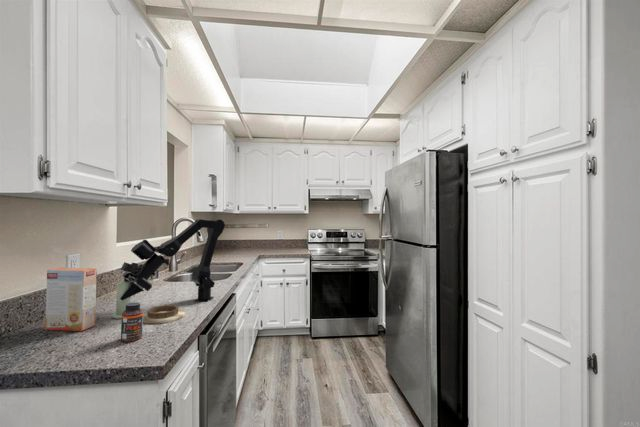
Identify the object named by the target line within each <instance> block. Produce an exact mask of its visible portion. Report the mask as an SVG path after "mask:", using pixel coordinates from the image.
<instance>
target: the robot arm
mask: <svg viewBox="0 0 640 427" xmlns="http://www.w3.org/2000/svg"><path fill="white" fill-rule="evenodd" d="M225 227H226V224H225V221H224V220H222V219H214V218H213V219H210V220H208V219H204V218H199V219H195V220H194V222H192V223H191V224H189V226H188V227H186V228H185V229H183V230H182V231H181V232H179V234H178V235H176V236H175V237H173V238H170V239H168V240H166V241H165V242H163V243H161V244H160V245H159V246H154V245H152V244H151V243H150V242H149V241H148V240H147V239H143V240H142V241H140V242H138V243H137V244H135V245H134V246H133V247H132V248H131V251H130V252H131V253H133V254H134V255H135V256H136V257H138V258H139V259H140V260H141V261H144V260H146V261H145V262H144V263H143V264H142V263H141V264H139V263H138V262H137V263H136V262H131V263H129V262H126V261H124V262H123V264H122V266H121V268H120V270H121V271H123V272H124V273H122V275H121V277H123V279H122V280H123V282H130V286H129V288H128V289H127V290H126V291H125V293H124V294H123V295H122V297H121V298H120V299H121V300H124V299H126V298H129V297H130V298H131V297H133V296H135V295H137V294H139V293H141V292H142V293H143V292H144V291H146V292H149V291H150V290H151V289H152V287H153V284H152V283H151V282H149V281H148V280H149V279H150V278H152V276H155V275H156V272H157V271H158V270H159V269H160V268H161V267H162V266H163V265H166V266H170V262H169V261H170V259H169V257H170V258H171V257H174V256H176V254H177V253H178V252H179V251H180V249H181V248H182V246H183V245H184V243H186V242H187V241H188V240H189V239H191V238H192V237H193V236H194V235H195V234H196V233H198V232H199V231H200V230H201V229H202V228H203V229H206V232H207V238H206V241H205V246H204V248H203V250H202V251H203V252H202V255H201V259H200V261H199V264H198V266H196V267H193V270H192V274H191V280H192V282H193V283H194V284H195V287H198V288H197V289H198V290H197V298H195V299H194V301H197V302H209V301H211V300H212V298H213V299H214V296H212V288H214V287H215V282H214V281H213V280H212V279H211V274H212V273H211V263H212V260H213V256H214V254H215V253H214V252H215V250H216V245H217V242H218V239H219V237H220V236H221V235H222V234H223V231H224V229H225ZM165 257H168V258H165ZM210 299H211V300H210ZM208 300H209V301H208Z"/></svg>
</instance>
